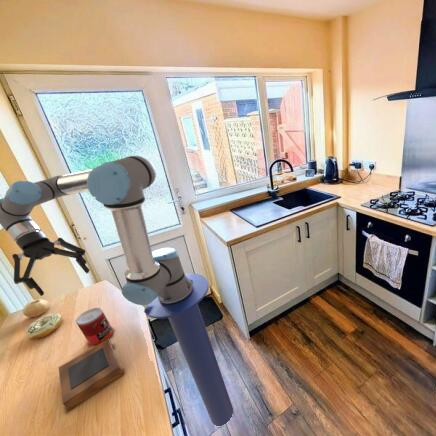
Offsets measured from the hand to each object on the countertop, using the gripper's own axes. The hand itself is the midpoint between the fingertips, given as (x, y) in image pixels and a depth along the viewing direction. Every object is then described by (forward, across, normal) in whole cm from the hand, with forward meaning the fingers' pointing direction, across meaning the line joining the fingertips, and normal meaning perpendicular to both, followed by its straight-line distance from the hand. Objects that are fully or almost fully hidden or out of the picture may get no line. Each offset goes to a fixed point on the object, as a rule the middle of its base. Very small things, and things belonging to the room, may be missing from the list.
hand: (66, 282), depth 88 cm
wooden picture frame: (+32, +10, +1) cm, 33 cm away
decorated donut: (+5, +8, -30) cm, 32 cm away
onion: (-5, +5, -42) cm, 43 cm away
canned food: (+23, 0, -10) cm, 25 cm away
